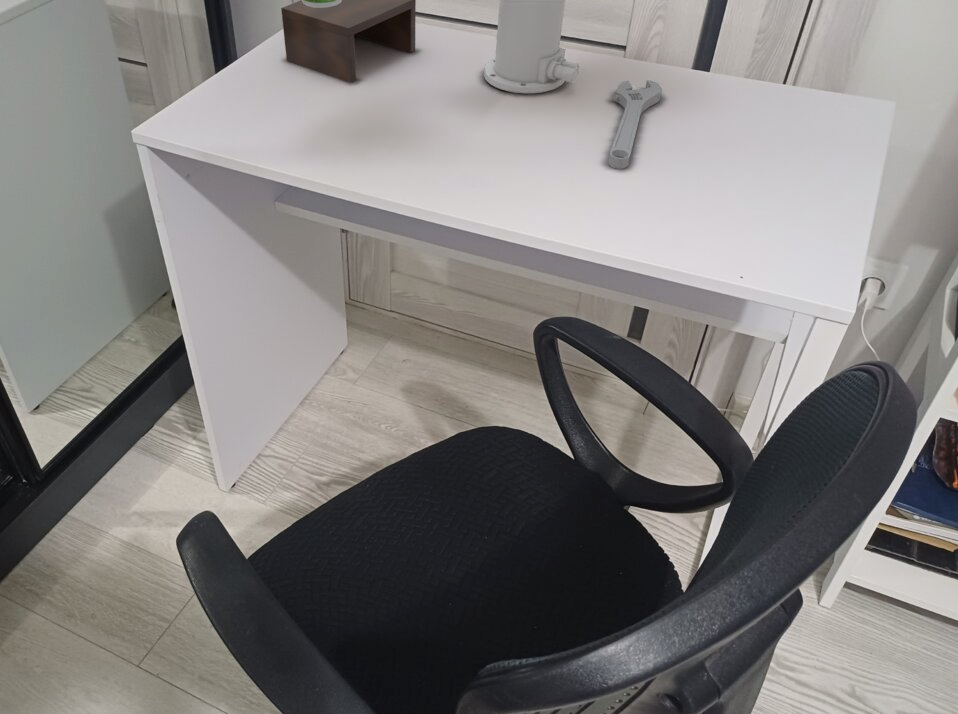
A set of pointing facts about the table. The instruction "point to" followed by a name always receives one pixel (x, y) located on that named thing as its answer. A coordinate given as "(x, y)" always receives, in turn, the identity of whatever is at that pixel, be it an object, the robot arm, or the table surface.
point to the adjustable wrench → (630, 118)
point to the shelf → (345, 32)
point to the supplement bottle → (321, 3)
